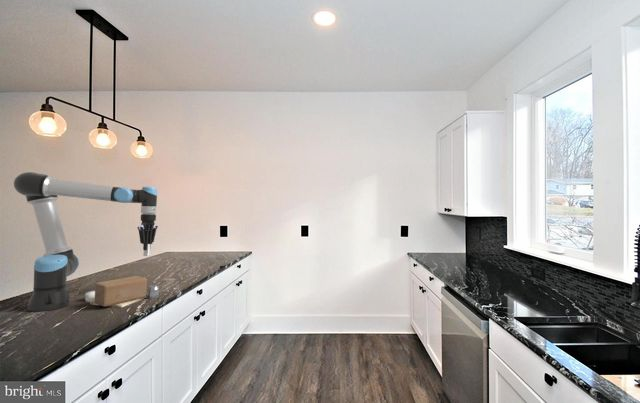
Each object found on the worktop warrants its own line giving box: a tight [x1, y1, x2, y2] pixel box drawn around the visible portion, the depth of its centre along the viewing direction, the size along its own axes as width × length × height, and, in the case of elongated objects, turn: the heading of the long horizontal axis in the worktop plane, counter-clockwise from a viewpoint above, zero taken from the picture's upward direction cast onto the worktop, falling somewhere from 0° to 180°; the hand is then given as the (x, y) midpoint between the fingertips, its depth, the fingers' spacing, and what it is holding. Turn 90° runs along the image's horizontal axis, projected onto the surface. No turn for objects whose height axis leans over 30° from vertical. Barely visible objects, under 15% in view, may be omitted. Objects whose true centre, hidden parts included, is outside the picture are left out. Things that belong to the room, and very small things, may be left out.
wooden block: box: [94, 275, 148, 307], centre depth 151 cm, size 10×10×20 cm
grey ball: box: [147, 284, 160, 300], centre depth 160 cm, size 5×5×6 cm
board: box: [89, 295, 148, 308], centre depth 153 cm, size 18×16×1 cm
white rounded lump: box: [84, 290, 95, 303], centre depth 154 cm, size 6×6×4 cm
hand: (146, 255), depth 171 cm, fingers closed
